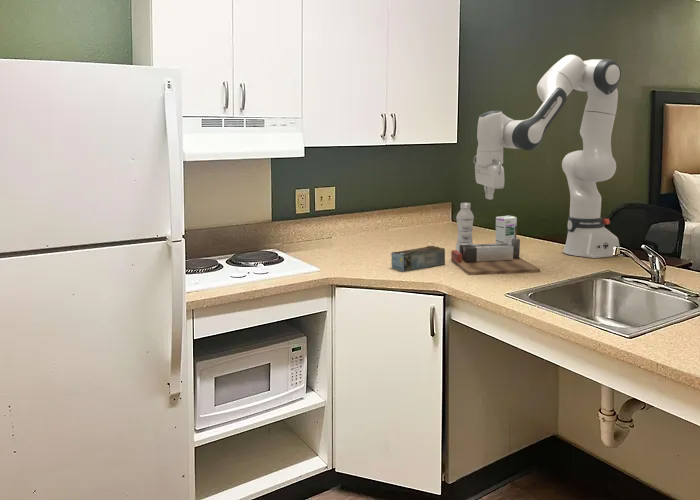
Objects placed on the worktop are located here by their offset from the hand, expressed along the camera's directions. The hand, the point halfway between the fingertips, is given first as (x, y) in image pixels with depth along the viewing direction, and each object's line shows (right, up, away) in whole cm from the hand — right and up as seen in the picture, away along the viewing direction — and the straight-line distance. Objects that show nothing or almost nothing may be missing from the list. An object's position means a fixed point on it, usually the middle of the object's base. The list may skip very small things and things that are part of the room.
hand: (489, 199), depth 218 cm
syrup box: (+12, -19, +25) cm, 34 cm away
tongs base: (+3, -24, +5) cm, 24 cm away
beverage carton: (-24, -24, +6) cm, 35 cm away
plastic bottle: (-4, -20, +25) cm, 32 cm away
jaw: (+2, -21, +9) cm, 23 cm away
